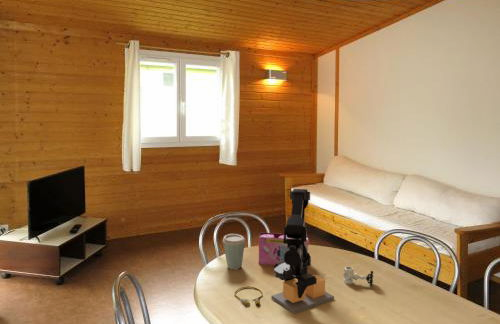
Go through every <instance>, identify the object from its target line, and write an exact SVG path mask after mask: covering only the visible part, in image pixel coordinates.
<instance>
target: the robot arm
mask: <svg viewBox="0 0 500 324" xmlns="http://www.w3.org/2000/svg"><path fill="white" fill-rule="evenodd" d="M289 200H290V201H291V213H290V217H289V218H288V219H287V220H286V225H284V232H283V234H284V241H283V244H287V249H286V252H285V255H284V261H283V262H279V263H276V264H275V265H273V267H274V268H273V272H274V274H275V278H277V279H279V280H280V281H283V282H285V281H288V280H292V279H295V278H296V279H298V282H296V283H295V284H296V285H297V286H298V298H301V297H302V295H303V293H304V291H305V289H306V288H307V287H308V286H311V285H314V284H316V283H317V278H316V277H315V276H314V275H315V274H311V273H310V272H308V267H309V266H311V265H312V263H311V262H312V256H311V255H310V252H309V250H308V247H309V246H308V247H307V246H306V244H305V242H306V238H307V236H308V235H307V234H308V229H307V227H306V225H305V224H306V223H305V222H306V221H305V220H306V208H307V207H308V205H309V201H311V191H309V190H308V188H304V189H303V188H302V189H301V188H293V190H289ZM286 235H287V237H288V238H291V239H286Z"/></svg>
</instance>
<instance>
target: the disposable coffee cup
mask: <svg viewBox="0 0 500 324" xmlns="http://www.w3.org/2000/svg"><path fill="white" fill-rule="evenodd" d="M222 243H223V248H224V255H225V259H226V265H227V267H228V269H229V268H230V269H229V270H232V269H236V270H239V268H240V267H241V268H242V265H243V260H244V259H243V258H244V252H245V244H246V239H245V237H244V236H243V235H241V234H238V233H229V234H226V235H224V236H223V239H222ZM241 268H240V269H241Z"/></svg>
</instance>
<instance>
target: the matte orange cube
mask: <svg viewBox="0 0 500 324" xmlns="http://www.w3.org/2000/svg"><path fill="white" fill-rule="evenodd" d="M282 282H283V283H282V292H283V297H284V298H286V299H287V300H289V301H291V302H292V303H295V302H298V301H301V300H304V299H305V293H306V289H305V291H304V293H303V295H302V297H301V298H298V286H297V285H296V284H295V283H296V282H298V279H296V278H295V279H292V280H288V281H282Z"/></svg>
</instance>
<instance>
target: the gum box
mask: <svg viewBox="0 0 500 324" xmlns="http://www.w3.org/2000/svg"><path fill="white" fill-rule="evenodd" d="M286 239H291V238H288V237H287V235H286ZM283 241H284V233H279V232H260V233H259V235H258V264H259V265H270V266H271V265H272V266H275V264H276V263H279V262H283V261H284V255H285V252H286V249H287V244H283ZM309 243H310V240H309V236H308V235H307V238H306V242H305V244H306V246H307V247H309Z"/></svg>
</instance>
